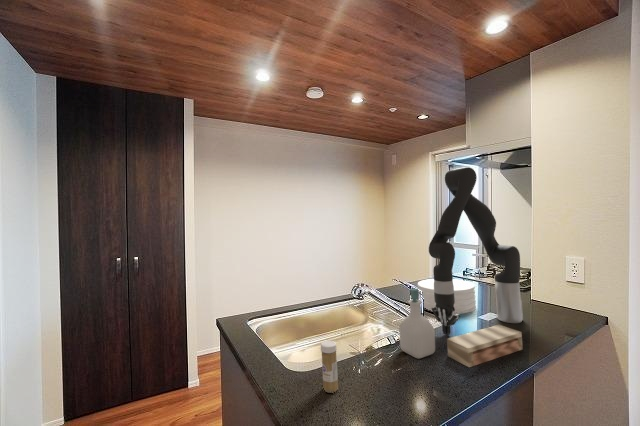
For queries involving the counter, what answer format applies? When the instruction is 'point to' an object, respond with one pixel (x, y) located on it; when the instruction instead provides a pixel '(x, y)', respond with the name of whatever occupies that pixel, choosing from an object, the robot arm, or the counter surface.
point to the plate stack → (462, 295)
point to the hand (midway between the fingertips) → (446, 334)
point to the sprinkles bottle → (329, 366)
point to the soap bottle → (416, 331)
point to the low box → (484, 345)
